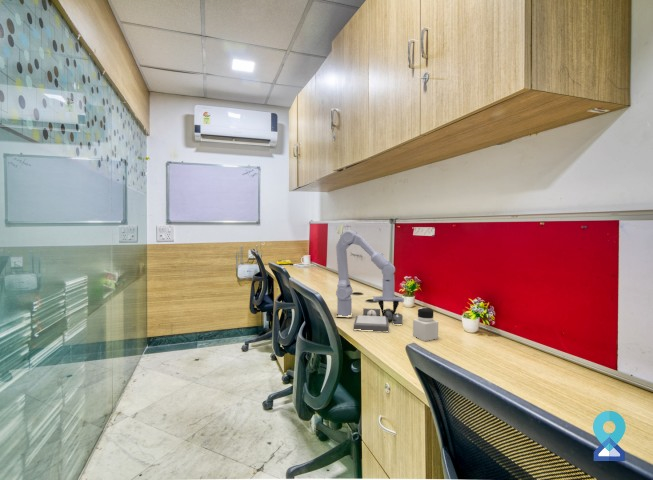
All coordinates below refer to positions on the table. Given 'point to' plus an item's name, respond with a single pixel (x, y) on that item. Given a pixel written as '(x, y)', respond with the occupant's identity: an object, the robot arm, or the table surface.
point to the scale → (371, 321)
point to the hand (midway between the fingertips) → (388, 316)
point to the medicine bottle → (425, 325)
